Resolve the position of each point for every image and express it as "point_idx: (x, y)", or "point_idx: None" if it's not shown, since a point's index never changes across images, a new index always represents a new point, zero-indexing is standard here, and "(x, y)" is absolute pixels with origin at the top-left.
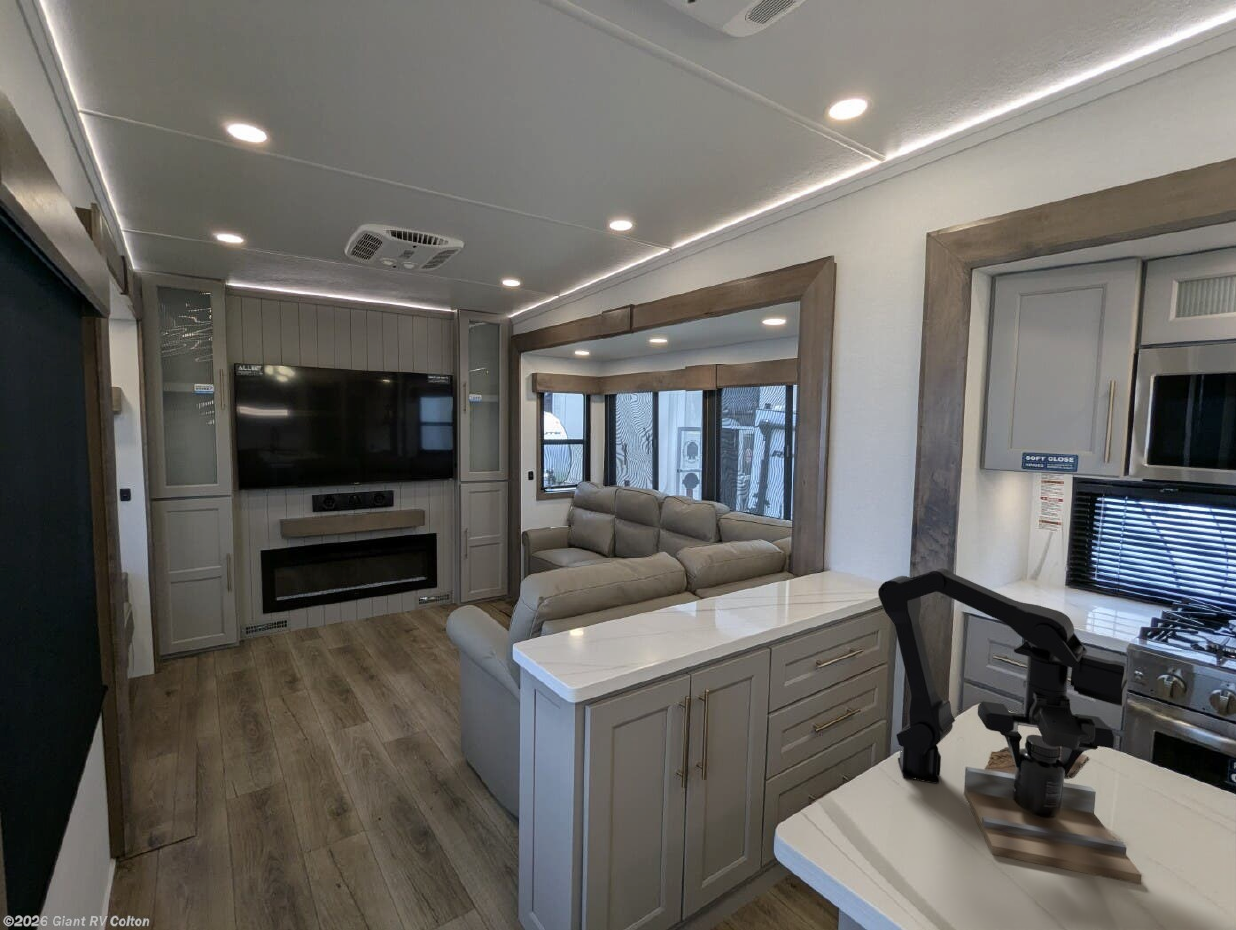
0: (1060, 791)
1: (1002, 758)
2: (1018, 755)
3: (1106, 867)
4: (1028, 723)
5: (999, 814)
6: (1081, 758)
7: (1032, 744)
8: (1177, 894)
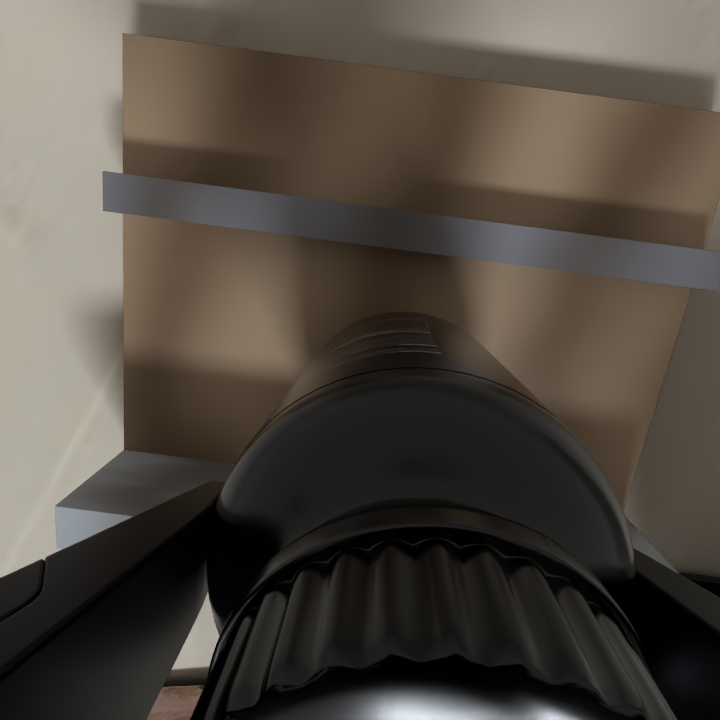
0: (316, 363)
1: None
2: (702, 609)
3: (261, 55)
4: None
5: (563, 369)
6: None
7: None
8: (27, 14)
